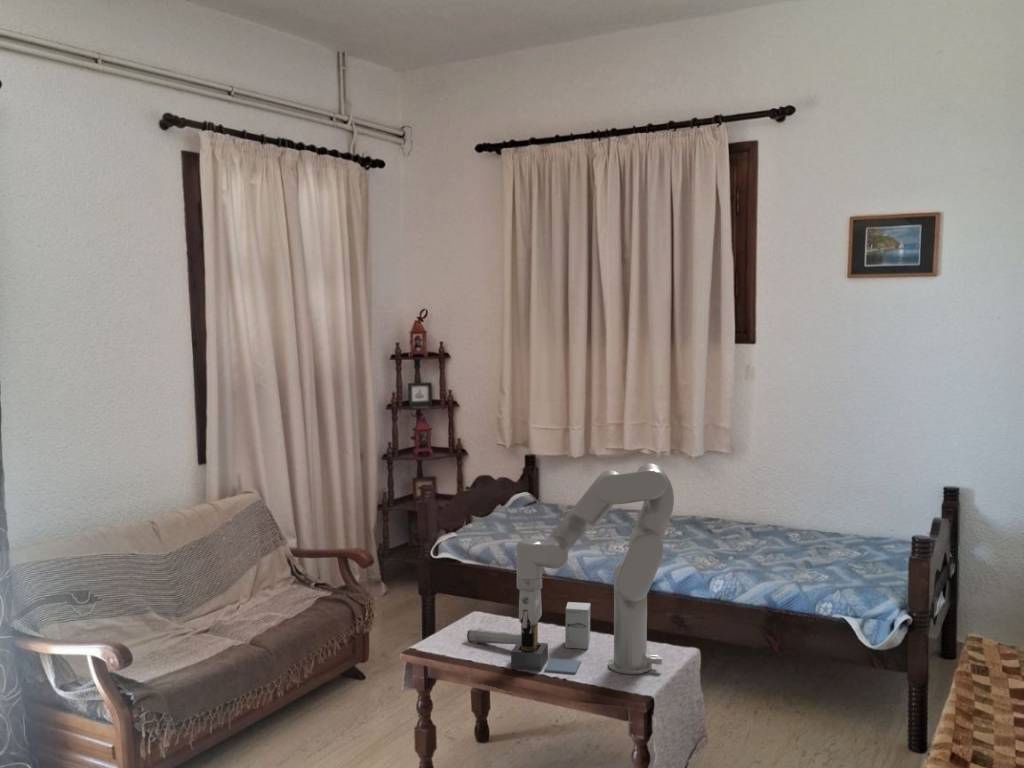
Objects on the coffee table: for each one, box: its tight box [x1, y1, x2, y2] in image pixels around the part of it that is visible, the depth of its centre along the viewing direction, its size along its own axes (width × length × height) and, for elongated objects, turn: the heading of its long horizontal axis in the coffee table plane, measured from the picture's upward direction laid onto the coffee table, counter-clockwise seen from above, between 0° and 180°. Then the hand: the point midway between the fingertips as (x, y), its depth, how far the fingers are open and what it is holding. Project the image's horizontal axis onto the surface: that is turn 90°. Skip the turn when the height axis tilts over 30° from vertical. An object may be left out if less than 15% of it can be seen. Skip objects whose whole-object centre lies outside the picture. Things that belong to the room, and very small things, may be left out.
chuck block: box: [510, 641, 549, 672], centre depth 258 cm, size 9×9×5 cm
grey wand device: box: [466, 628, 540, 645], centre depth 271 cm, size 5×7×25 cm
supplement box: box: [564, 601, 592, 650], centre depth 273 cm, size 7×7×13 cm
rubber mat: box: [544, 657, 582, 675], centre depth 255 cm, size 9×9×1 cm
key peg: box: [520, 621, 539, 652], centre depth 257 cm, size 5×5×13 cm
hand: (529, 643), depth 257 cm, fingers closed on key peg, 4 cm apart
